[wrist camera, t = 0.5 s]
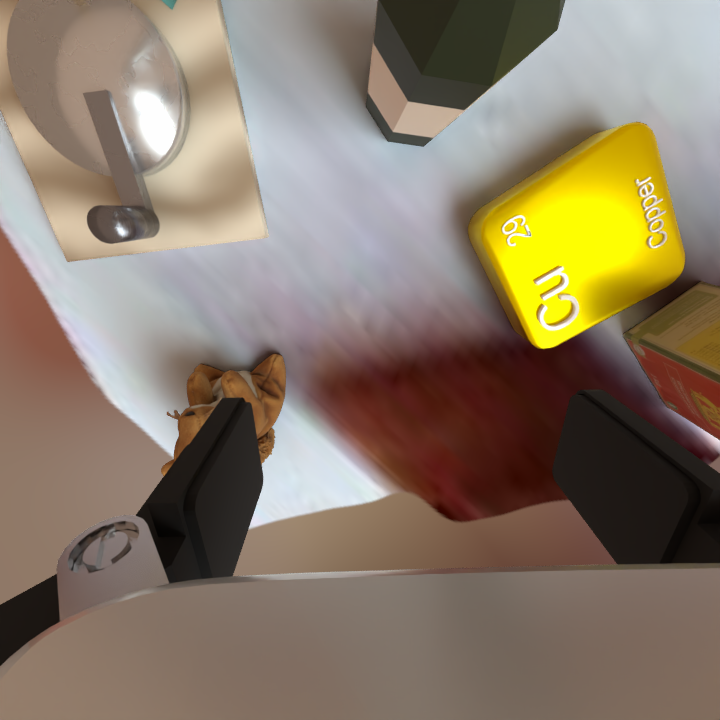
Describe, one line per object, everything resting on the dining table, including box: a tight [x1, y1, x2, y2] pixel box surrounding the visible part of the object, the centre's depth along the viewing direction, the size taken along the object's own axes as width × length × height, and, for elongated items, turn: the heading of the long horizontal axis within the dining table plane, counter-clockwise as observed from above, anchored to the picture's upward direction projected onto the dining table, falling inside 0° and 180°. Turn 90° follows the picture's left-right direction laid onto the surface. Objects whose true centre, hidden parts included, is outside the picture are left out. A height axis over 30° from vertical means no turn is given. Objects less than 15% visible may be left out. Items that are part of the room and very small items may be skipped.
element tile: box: [468, 122, 685, 349], centre depth 32 cm, size 15×15×5 cm
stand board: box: [0, 0, 269, 262], centre depth 28 cm, size 24×19×2 cm
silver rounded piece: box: [7, 0, 191, 244], centre depth 25 cm, size 19×12×7 cm, turn 6°
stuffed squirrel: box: [161, 354, 286, 476], centre depth 35 cm, size 10×14×13 cm
